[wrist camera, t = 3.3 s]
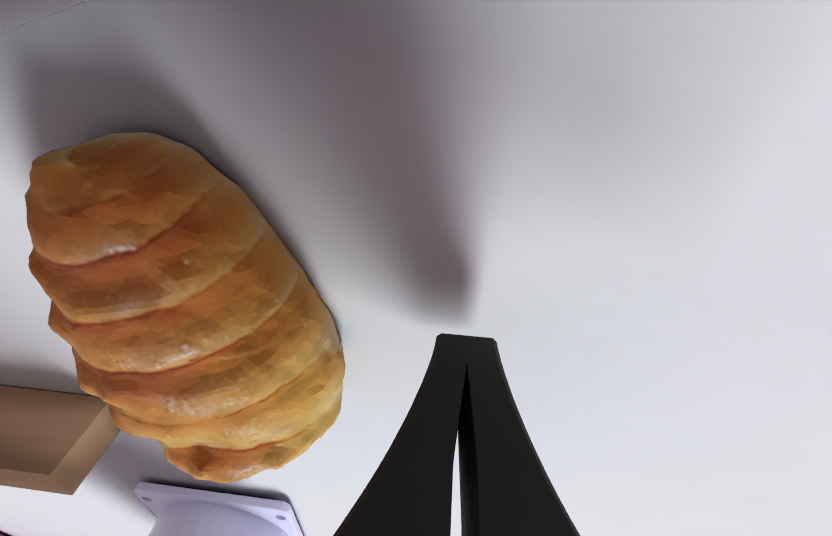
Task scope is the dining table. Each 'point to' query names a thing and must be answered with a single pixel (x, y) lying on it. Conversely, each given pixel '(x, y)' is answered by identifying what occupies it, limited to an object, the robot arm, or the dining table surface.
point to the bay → (51, 438)
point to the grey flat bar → (29, 11)
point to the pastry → (182, 305)
